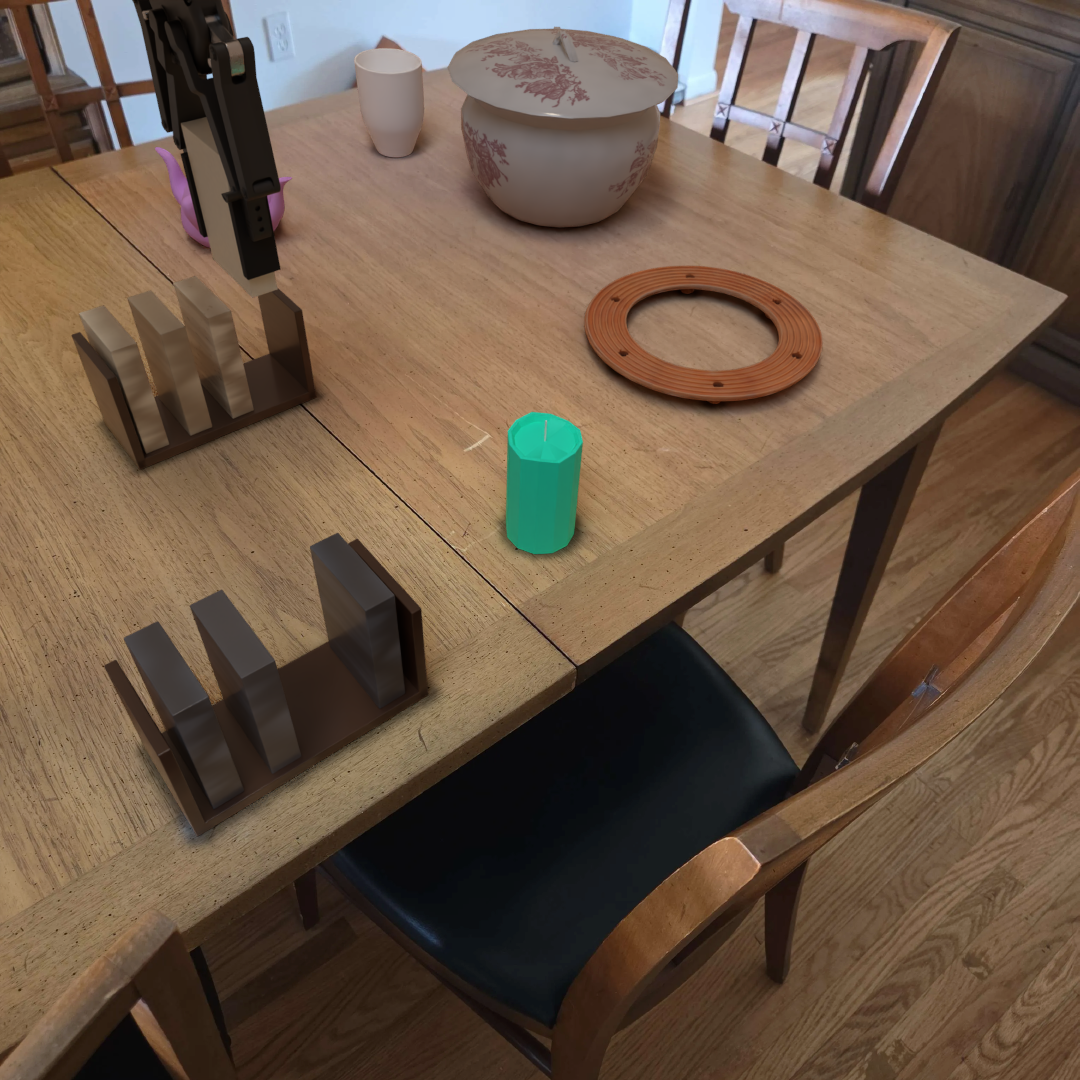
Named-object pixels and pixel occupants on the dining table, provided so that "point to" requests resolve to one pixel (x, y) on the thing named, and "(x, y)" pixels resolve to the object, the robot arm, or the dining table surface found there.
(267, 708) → the grey rack
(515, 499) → the candle
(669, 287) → the ring
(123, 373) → the cream rack
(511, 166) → the chamber pot
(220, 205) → the cream book
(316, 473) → the dining table surface
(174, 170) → the teapot
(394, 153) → the mug
